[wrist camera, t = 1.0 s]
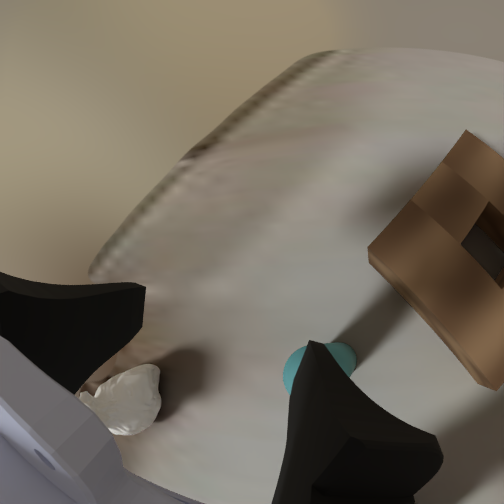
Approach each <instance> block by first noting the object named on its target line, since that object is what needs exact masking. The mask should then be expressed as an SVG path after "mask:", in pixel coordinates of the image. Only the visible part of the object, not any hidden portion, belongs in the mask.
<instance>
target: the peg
mask: <svg viewBox="0 0 504 504" xmlns="http://www.w3.org/2000/svg"><path fill="white" fill-rule="evenodd" d="M324 345H325V346H326V347H327V349H328V350H329V351H330V353H331V354H332V356H333V357H334V358H335V360H336V361H337V363H338V364H339V365H340V367H341V368H342V369H343V371H344V372H345V373H346V374H347V376H348V377H350V376H351V374H352V372H353V371H354V369H355V367H356V362H357V358H356V354H355V352H354V350H353V349H352V348H351V347H350V346H349V345H347V344H345V343H341V342H336V343H326V344H324ZM306 347H307V346H304V347H302V348H300V349H298V350H297V351H295V352H294V353H293V354H292V355H291V356H290V357H289V359H288V360H287V362H286V364H285V367H284V372H283V381H284V385H285V388H286V390H287V392H288V393H289V394H291V389H292V384H293V379H294V377H295V375H296V372H297V370H298V367H299V365H300V362H301V360H302V357H303V355H304V352H305V350H306Z"/></svg>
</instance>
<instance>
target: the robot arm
mask: <svg viewBox="0 0 504 504" xmlns="http://www.w3.org/2000/svg"><path fill="white" fill-rule="evenodd" d="M145 293H146V287H145V286H142V285H139V284H137V283H132V282H121V283H107V284H92V285H57V284H47V283H41V282H33V281H29V280H25V279H21V278H17V277H13V276H10V275H7V274H5V273H2V272H0V504H205V503H202V502H199V501H196V500H193V499H190V498H187V497H185V496H182V495H180V494H177V493H175V492H172V491H170V490H167V489H165V488H163V487H160V486H158V485H156V484H154V483H152V482H149V481H147V480H145V479H143V478H141V477H139V476H137V475H135V474H133V473H131V472H130V471H128V470H127V469H125V468H124V467H123V463H122V457H121V453H120V450H119V447H118V445H117V443H116V441H115V439H114V437H113V435H112V433H111V431H110V430H109V429H108V428H107V427H106V426H105V424H104V423H103V422H102V421H101V420H100V418H99V417H98V416H97V415H96V413H95V412H94V411H92V410H91V409H90V408H89V407H88V406H86V405H85V404H84V403H83V402H82V401H81V400H79V399H78V398H77V397H76V396H75V393H76V392H77V391H78V390H79V388H80V387H81V386H82V385H83V384H84V383H85V381H86V380H87V379H88V378H89V377H90V376H91V375H92V374H93V373H94V372H95V371H96V370H97V369H98V368H99V367H100V366H101V365H103V363H105V362H106V361H107V360H109V359H110V358H111V357H112V356H113V355H115V354H116V353H117V352H118V351H119V350H121V349H122V348H123V347H124V346H125V345H126V344H128V343H129V342H130V341H131V340H132V339H133V337H134V336H135V335H136V334H137V333H138V332H139V330H140V329H141V328H142V324H143V312H144V302H145ZM442 463H443V454H442V451H441V448H440V446H439V443H438V441H437V438H436V436H435V435H432V434H430V433H427V432H425V431H423V430H420V429H418V428H415V427H413V426H411V425H409V424H407V423H405V422H404V421H402V420H400V419H398V418H396V417H395V416H393V415H392V414H390V413H389V412H387V411H386V410H384V409H383V408H382V407H380V406H379V405H377V404H376V403H375V402H374V401H372V400H371V399H370V398H369V397H368V396H367V395H366V394H365V393H363V392H362V391H361V390H360V389H359V388H358V387H357V386H356V385H355V383H354V382H353V381H352V380H351V379H350V378H349V377H348V376H347V374H346V373H345V372H344V371H343V369H342V368H341V367H340V365H339V364H338V363H337V361H336V360H335V358H334V357H333V356H332V354H331V353H330V351H329V350H328V349H327V347H326V346H325V345H324V344H322V343H319V342H315V341H311V340H309V342H308V345H307V347H306V350H305V352H304V355H303V357H302V360H301V362H300V365H299V367H298V370H297V372H296V375H295V377H294V379H293V384H292V389H291V394H290V400H289V415H288V430H287V442H286V449H285V454H284V458H283V463H282V467H281V471H280V475H279V479H278V483H277V487H276V490H275V494H274V497H273V500H272V504H414V503H415V501H414V496H413V495H414V494H415V493H416V492H417V491H418V490H420V489H421V488H422V487H423V486H424V485H425V484H426V483H427V482H428V481H429V480H431V479H432V478H433V476H434V475H435V474H436V473H437V472H438V470H439V469H440V467H441V465H442Z"/></svg>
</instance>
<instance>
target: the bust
mask: <svg viewBox="0 0 504 504" xmlns="http://www.w3.org/2000/svg"><path fill="white" fill-rule="evenodd" d="M159 375H160V369H159V368H158V367H157V366H155V365H153V364H143V365H140V366H137V367H134V368H132V369H130V370H127V371H125V372H124V373H120V374H118V375H116V376H114V377H112V378H110V379H109V380H108V381H107V382H105V383H103V384H101V386H99V388H98V389H97V391H96V394H95V396H94V397H93V396H91V395H90V394H89V393H88V392H87V391H85V392H81V393H80V397H79V398H78V399H79V400H81V401H82V402H83V403H84V404H85V405H86V406H88V407H89V408H90V409H91V410H92V411H94V412H95V413H96V415H97V416H98V417H99V418H100V420H101V421H102V422H103V423H104V424H105V426H106V427H107V428H108V429H109V430H110V431H111V432H112V433H113V434H116V435H119V434H121V435H133V434H136V433H139V432H142V431H143V430H144V429H146V428H148V427H150V425H151V424H152V423H153V421H154V420H155V419H156V417H157V414H158V412H159V410H160V408H161V396H160V394H159V391H158V383H159Z"/></svg>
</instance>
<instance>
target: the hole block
mask: <svg viewBox="0 0 504 504" xmlns="http://www.w3.org/2000/svg"><path fill="white" fill-rule="evenodd" d="M475 223H476V224H477V225H478V226H479V227H480V228H481V229H482V230H483V231H484V232H485V233H486V234H487V235H488V236H489V237H490V238H491V240H492V241H493V242H494V243H495V244H496V245H497V246H498V247H499V248H500V249H501V250H502V251H503V252H504V159H503V158H502V157H501V156H500V155H499V154H497V153H496V152H495V151H494V150H492V149H491V148H490V147H489V146H487V145H486V144H485V143H484V142H482V141H481V140H480V139H478V138H477V137H476V136H474V135H473V134H472V133H470V132H469V131H467V130H465V132H464V133H463V134H462V136H461V137H460V138H459V140H458V141H457V142H456V144H455V145H454V146H453V148H452V149H451V150H450V152H449V153H448V154H447V156H446V157H445V158H444V159H443V161H442V162H441V163H440V165H439V166H438V167H437V168H436V170H435V171H434V172H433V173H432V175H431V176H430V177H429V178H428V179H427V181H426V182H425V183H424V184H423V185H422V187H421V188H420V189H419V190H418V191H417V193H416V194H415V195H414V196H413V197H412V198H411V200H410V201H409V202H408V203H407V204H406V205H405V207H404V208H403V209H402V210H401V211H400V212H399V213H398V215H397V216H396V217H395V218H394V219H393V220H392V221H391V222H390V223H389V225H388V226H387V227H386V228H385V229H384V230H383V231H382V232H381V233H380V234H379V235H378V236H377V238H376V239H375V240H374V241H373V242H372V243H371V244H370V245H369V246H368V258H369V263H370V264H371V265H372V266H373V267H374V268H375V269H376V270H377V271H378V272H379V273H380V274H381V275H382V276H383V277H384V278H385V279H386V280H387V281H388V282H389V283H390V284H391V285H392V286H393V287H394V288H395V289H396V290H397V292H398V293H399V294H400V295H401V296H402V297H403V298H404V299H405V300H406V301H407V302H408V303H409V304H410V305H411V306H412V307H413V308H414V309H415V311H416V312H417V313H418V314H419V315H420V316H421V317H422V318H423V319H424V320H425V321H426V323H427V324H428V325H429V326H430V327H431V328H432V329H433V330H434V332H435V333H436V334H437V335H438V336H439V337H440V338H441V340H442V341H443V342H444V343H445V344H446V345H447V347H448V348H449V349H450V350H451V351H452V352H453V354H454V355H455V356H456V357H457V358H458V360H459V361H460V362H461V363H462V364H463V366H464V367H465V368H466V369H467V371H468V372H469V373H470V374H471V376H472V377H473V378H474V380H475V381H476V382H477V383H478V384H480V385H482V386H485V387H487V388H490V389H492V390H495V391H497V390H498V389H499V388H500V386H501V385H502V384H503V383H504V266H503V268H502V270H501V271H500V273H499V275H498V276H497V278H496V279H495V281H494V280H493V279H492V277H491V276H490V275H489V274H488V273H487V272H486V271H485V270H484V269H483V267H482V266H481V265H480V264H479V263H478V262H477V261H476V260H475V259H474V258H473V257H472V256H471V255H470V254H469V253H468V252H467V251H466V250H465V249H464V248H463V247H462V246H461V245H460V244H461V242H462V241H463V240H464V238H465V237H466V235H467V234H468V233H469V231H470V230H471V228H472V227H473V225H474V224H475Z"/></svg>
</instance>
